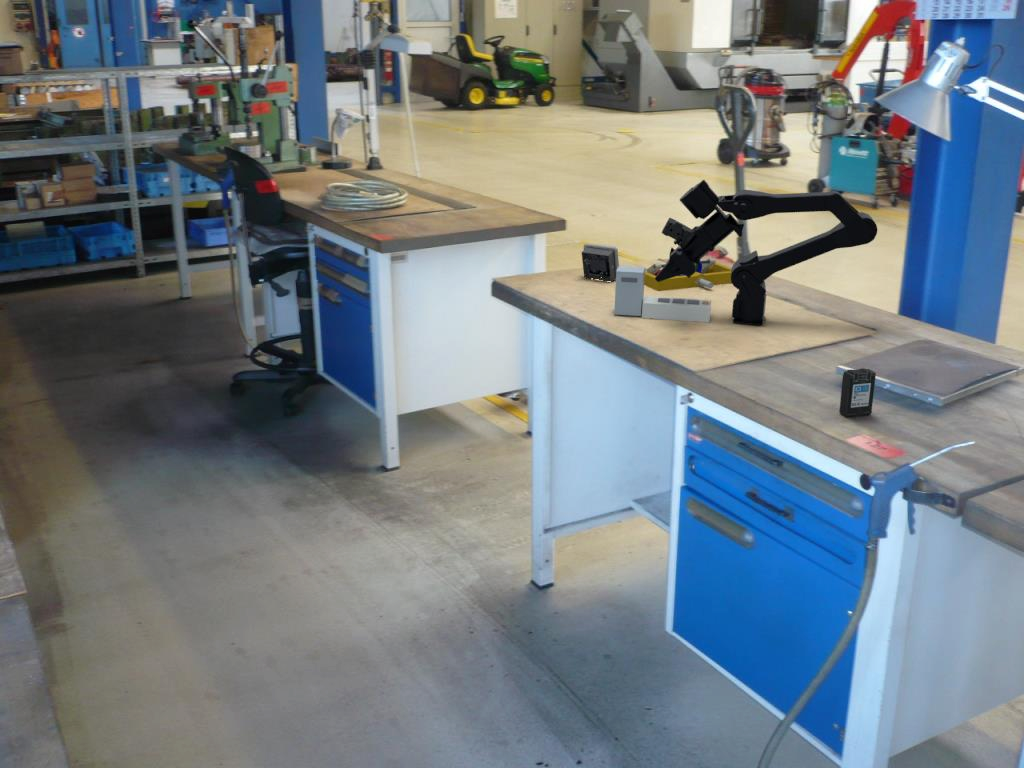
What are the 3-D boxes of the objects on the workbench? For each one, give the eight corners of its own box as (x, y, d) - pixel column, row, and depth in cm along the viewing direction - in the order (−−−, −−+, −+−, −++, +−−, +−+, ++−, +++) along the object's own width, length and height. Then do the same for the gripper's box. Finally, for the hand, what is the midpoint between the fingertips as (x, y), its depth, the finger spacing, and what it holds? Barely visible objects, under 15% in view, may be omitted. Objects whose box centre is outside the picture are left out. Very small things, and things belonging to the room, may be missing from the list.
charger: (652, 310, 245) (654, 267, 242) (650, 316, 240) (653, 273, 237) (616, 308, 247) (618, 265, 243) (614, 314, 242) (616, 271, 238)
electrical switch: (620, 280, 274) (620, 245, 270) (611, 286, 270) (611, 250, 266) (588, 275, 279) (587, 241, 275) (578, 281, 275) (578, 246, 271)
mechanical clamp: (616, 258, 272) (714, 249, 284) (615, 282, 274) (713, 272, 286) (654, 273, 256) (756, 263, 268) (653, 299, 258) (754, 287, 270)
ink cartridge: (845, 418, 182) (850, 374, 180) (838, 413, 184) (843, 370, 182) (871, 415, 184) (876, 371, 181) (864, 411, 186) (868, 367, 183)
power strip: (711, 303, 253) (712, 288, 252) (709, 322, 237) (710, 306, 236) (647, 299, 256) (648, 284, 254) (641, 318, 240) (642, 301, 239)
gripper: (687, 200, 242) (636, 245, 248) (683, 214, 225) (628, 262, 230) (719, 236, 243) (667, 280, 249) (718, 253, 226) (662, 300, 232)
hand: (656, 280), depth 240 cm, fingers closed
